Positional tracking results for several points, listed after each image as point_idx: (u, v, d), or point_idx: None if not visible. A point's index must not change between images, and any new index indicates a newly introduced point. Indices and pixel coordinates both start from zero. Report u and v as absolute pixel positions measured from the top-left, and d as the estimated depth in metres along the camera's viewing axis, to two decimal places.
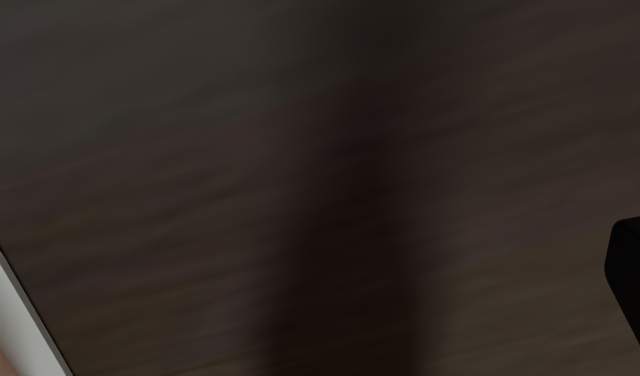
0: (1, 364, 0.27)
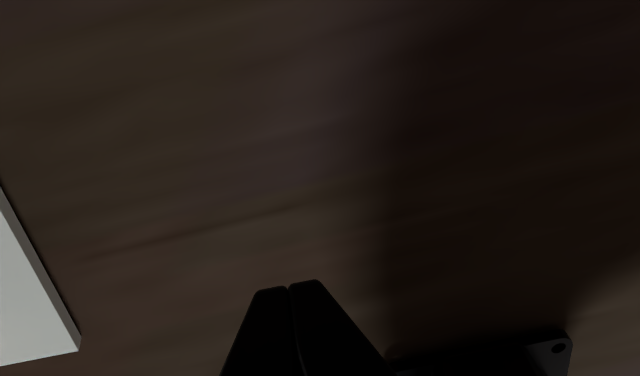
0: None
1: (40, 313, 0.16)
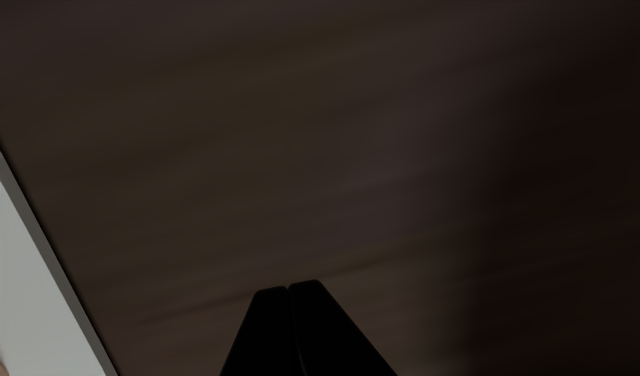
0: None
1: None
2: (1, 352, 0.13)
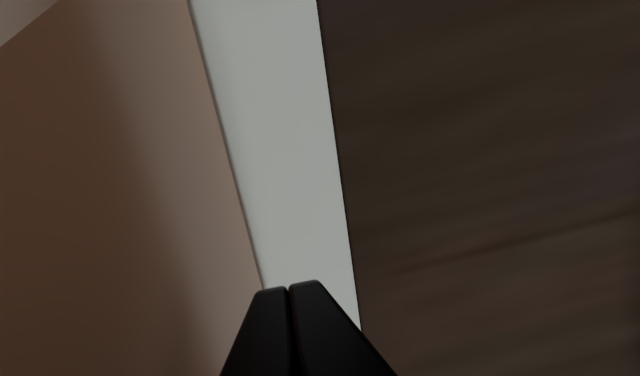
0: (224, 180, 0.10)
1: None
2: None
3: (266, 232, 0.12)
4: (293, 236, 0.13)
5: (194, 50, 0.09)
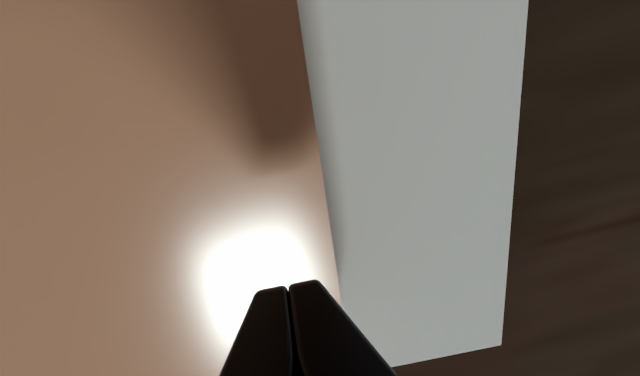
0: (295, 211, 0.09)
1: (488, 303, 0.15)
2: (431, 266, 0.14)
3: (436, 198, 0.12)
4: (460, 202, 0.13)
5: (286, 72, 0.08)
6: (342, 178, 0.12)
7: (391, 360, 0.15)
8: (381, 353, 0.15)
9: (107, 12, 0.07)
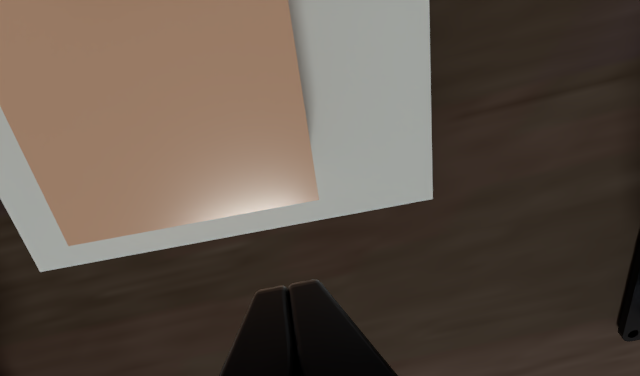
0: (275, 54, 0.15)
1: (419, 161, 0.20)
2: (376, 128, 0.19)
3: (376, 72, 0.18)
4: (394, 76, 0.18)
5: None
6: (310, 55, 0.17)
7: (351, 207, 0.21)
8: (344, 201, 0.21)
9: None
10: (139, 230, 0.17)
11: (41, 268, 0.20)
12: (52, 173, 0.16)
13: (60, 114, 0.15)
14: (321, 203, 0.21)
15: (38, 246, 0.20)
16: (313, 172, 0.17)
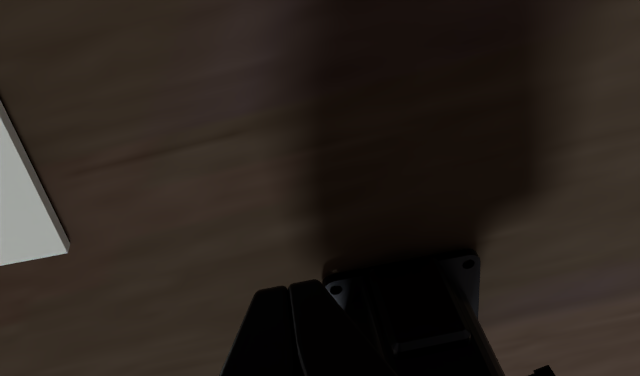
0: None
1: (36, 218, 0.20)
2: None
3: None
4: None
5: None
6: None
7: None
8: None
9: None
10: None
11: None
12: None
13: None
14: None
15: None
16: None
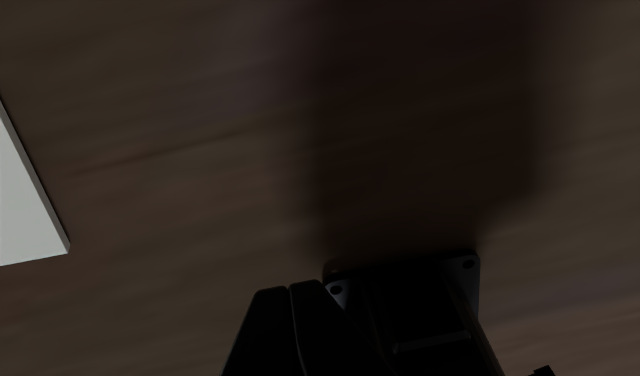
0: None
1: (36, 218, 0.20)
2: None
3: None
4: None
5: None
6: None
7: None
8: None
9: None
10: None
11: None
12: None
13: None
14: None
15: None
16: None
